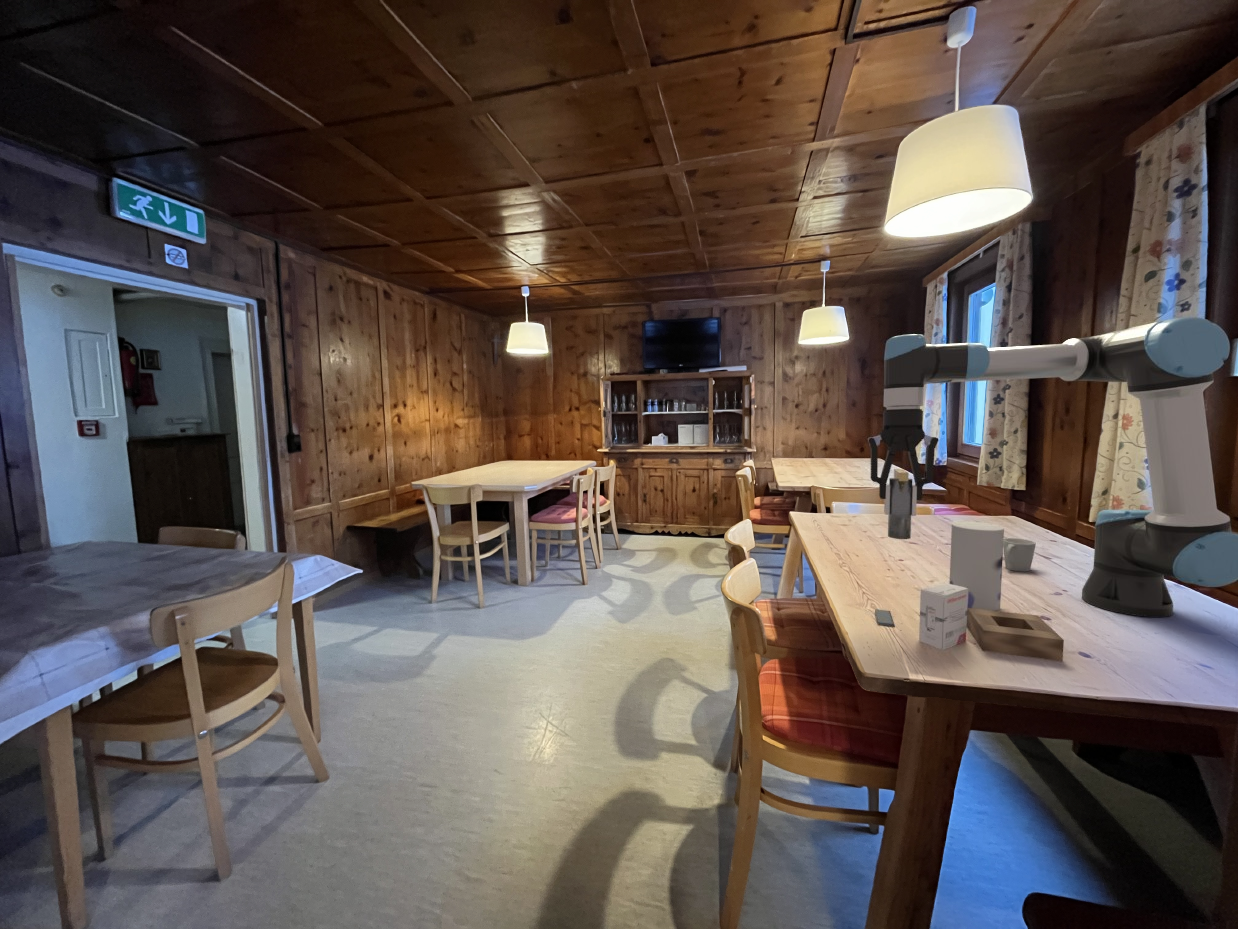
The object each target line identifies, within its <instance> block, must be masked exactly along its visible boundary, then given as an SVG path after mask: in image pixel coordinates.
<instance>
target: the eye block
mask: <svg viewBox="0 0 1238 929" xmlns="http://www.w3.org/2000/svg"><path fill="white" fill-rule="evenodd" d="M966 629H967V630H968V631H969V633H971V635H972V637H973V639H974V640H975V641H976V643H977V644H978V645H979V646H978V647H980V648H981V650H982V651H983V652H991V653H997V654H1004V655H1013V656H1019V657H1026V658H1027V657H1028V658H1033V659H1043V660H1048V661H1049V660H1051V661H1055V662H1063V659H1064V642H1065V640H1064V638H1062V637H1061V635H1059V634H1058V633H1057V632H1056V631H1055V630H1054V629H1053V628H1052V627H1051V626H1049V624H1048V623H1046V622H1045V621H1044V620H1043V619H1042V618H1041V617H1040V616H1039V615H1036V614H1030V613H1029V614H1027V613H1018V612H1009V611H1001V610H1000V611H999V610H996V611H992V610H982V609H973V608H967V628H966Z"/></svg>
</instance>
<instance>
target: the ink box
mask: <svg viewBox="0 0 1238 929" xmlns="http://www.w3.org/2000/svg"><path fill="white" fill-rule="evenodd" d="M919 595H920V596H919V597H920V599H919V600H920V601H919V631H918V632H919V633H918V641H919V642H921V643H924V644H926V645H929V646H931V647H933V648H936V649H938V650H942V651H944V650H946V649H949V648H952V647H953V646H956V645H959V644H961V643H963V642H965V641H967V629H968V628H967V607H968V589H967V588H965V587H961V586H957V585H952V584H950V583H947V582H942V583H939V584H936V585H933V586H929V587H926V588H923V589H922V588H921V589H920V594H919Z"/></svg>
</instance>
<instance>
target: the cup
mask: <svg viewBox="0 0 1238 929" xmlns="http://www.w3.org/2000/svg"><path fill="white" fill-rule="evenodd" d="M1035 549H1036V541H1033V540H1030V539H1025V538H1017V537H1016V538H1015V537H1004V540H1003V558H1004V565H1005V568H1006V569H1008V570H1010V571H1014V572H1019V573H1020V572H1022V573H1027V572H1030V571H1031V567H1032V563H1033V559H1034V554H1035V551H1036V550H1035Z"/></svg>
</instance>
